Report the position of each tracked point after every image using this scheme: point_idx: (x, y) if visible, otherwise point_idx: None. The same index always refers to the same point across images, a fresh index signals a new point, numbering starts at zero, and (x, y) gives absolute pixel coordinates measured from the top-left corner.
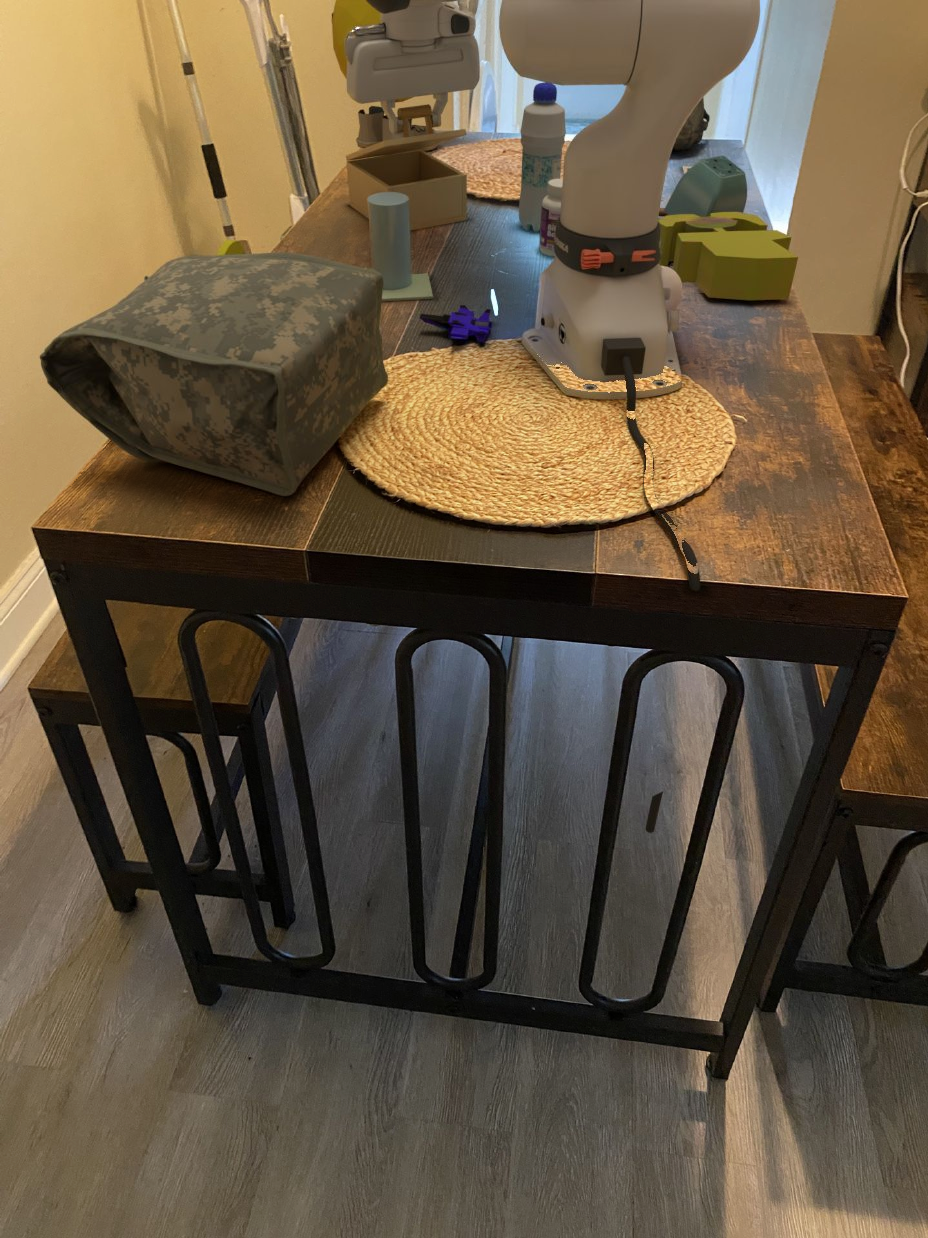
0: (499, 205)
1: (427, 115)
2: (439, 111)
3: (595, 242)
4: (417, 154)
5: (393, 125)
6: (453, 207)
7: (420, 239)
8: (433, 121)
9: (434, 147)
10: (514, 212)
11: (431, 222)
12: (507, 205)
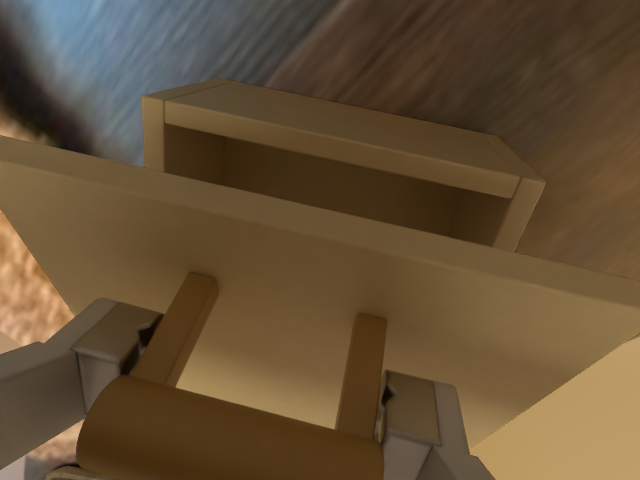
0: (73, 119)
1: (155, 380)
2: (43, 356)
3: None
4: None
5: (461, 424)
6: (251, 92)
7: (457, 23)
8: (139, 326)
9: (63, 467)
10: (55, 32)
11: (344, 105)
12: (51, 102)
